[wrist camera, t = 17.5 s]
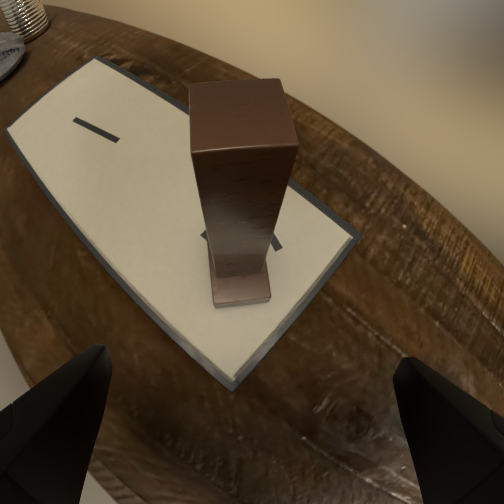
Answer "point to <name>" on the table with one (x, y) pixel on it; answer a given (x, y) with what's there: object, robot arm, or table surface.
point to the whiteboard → (167, 215)
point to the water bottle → (25, 17)
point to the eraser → (240, 179)
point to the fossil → (10, 52)
